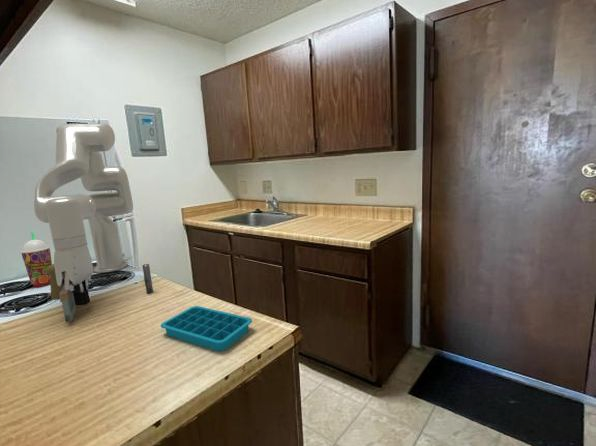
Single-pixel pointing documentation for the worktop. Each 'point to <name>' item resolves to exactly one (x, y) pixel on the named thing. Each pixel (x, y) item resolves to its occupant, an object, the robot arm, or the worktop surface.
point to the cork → (54, 283)
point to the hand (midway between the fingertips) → (83, 303)
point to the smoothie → (37, 261)
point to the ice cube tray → (207, 327)
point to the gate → (67, 304)
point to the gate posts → (147, 278)
